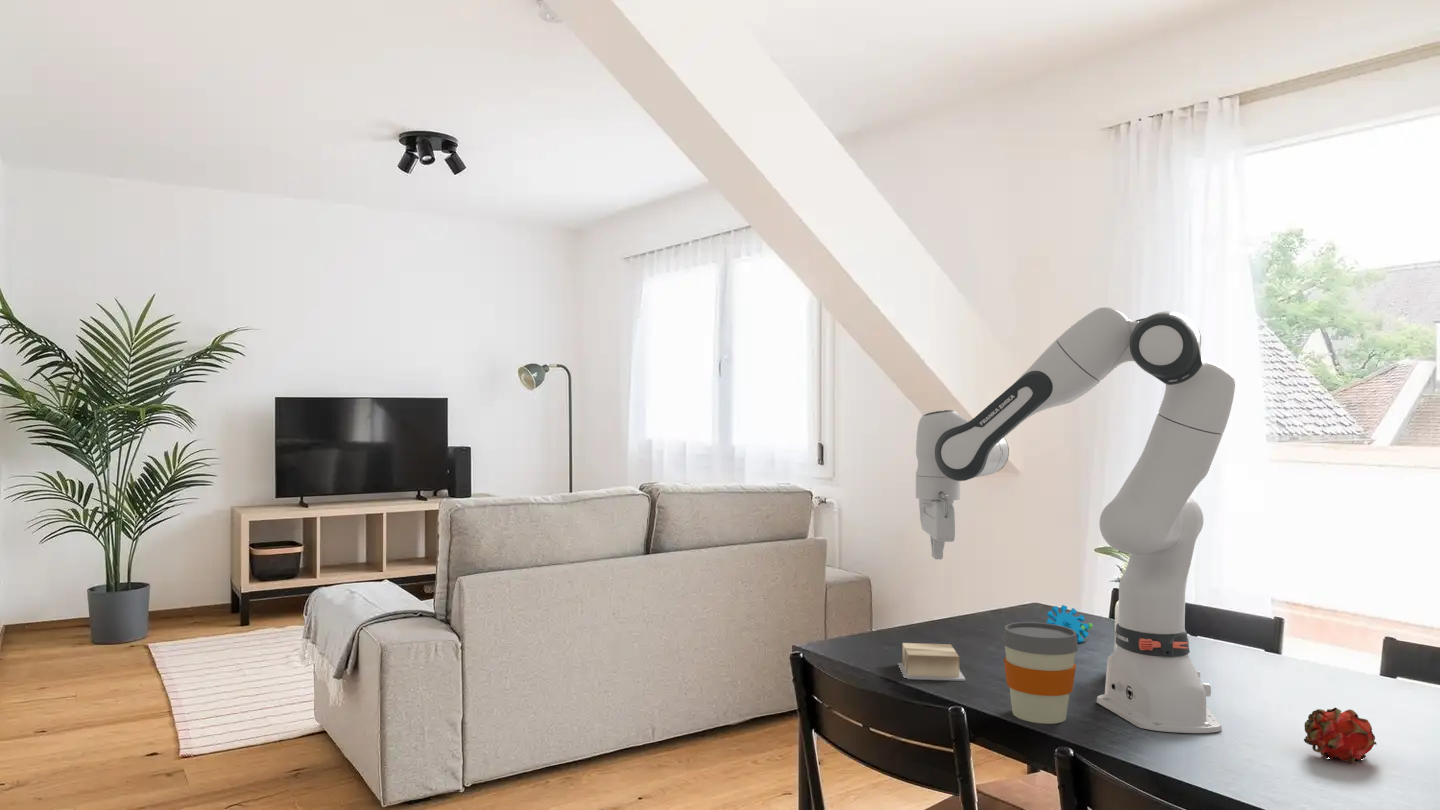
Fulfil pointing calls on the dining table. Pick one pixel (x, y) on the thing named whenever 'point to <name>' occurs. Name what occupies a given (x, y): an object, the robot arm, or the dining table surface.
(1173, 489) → the robot arm
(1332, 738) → the dragon fruit
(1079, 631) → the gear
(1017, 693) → the reusable coffee cup
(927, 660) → the birch slab
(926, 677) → the mat
